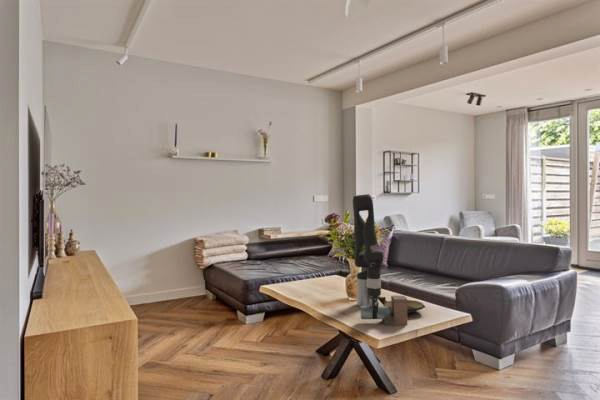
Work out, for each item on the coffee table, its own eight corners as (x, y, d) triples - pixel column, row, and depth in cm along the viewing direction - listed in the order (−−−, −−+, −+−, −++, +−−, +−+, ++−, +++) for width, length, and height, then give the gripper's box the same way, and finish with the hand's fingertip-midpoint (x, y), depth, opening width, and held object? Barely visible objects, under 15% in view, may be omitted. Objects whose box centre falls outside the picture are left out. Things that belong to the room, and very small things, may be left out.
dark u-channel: (382, 320, 219) (382, 295, 219) (403, 320, 219) (403, 295, 219) (385, 325, 211) (384, 299, 211) (407, 325, 211) (407, 299, 211)
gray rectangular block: (360, 317, 217) (360, 306, 217) (389, 317, 217) (389, 306, 216) (361, 319, 213) (361, 308, 213) (391, 319, 213) (391, 308, 213)
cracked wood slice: (405, 320, 218) (405, 307, 218) (369, 307, 244) (369, 295, 244) (433, 314, 230) (433, 301, 229) (396, 302, 255) (396, 290, 255)
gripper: (365, 283, 222) (365, 313, 222) (368, 289, 208) (369, 321, 208) (378, 283, 222) (378, 313, 222) (383, 289, 207) (383, 321, 208)
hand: (374, 317), depth 215 cm, fingers closed on gray rectangular block, 3 cm apart
